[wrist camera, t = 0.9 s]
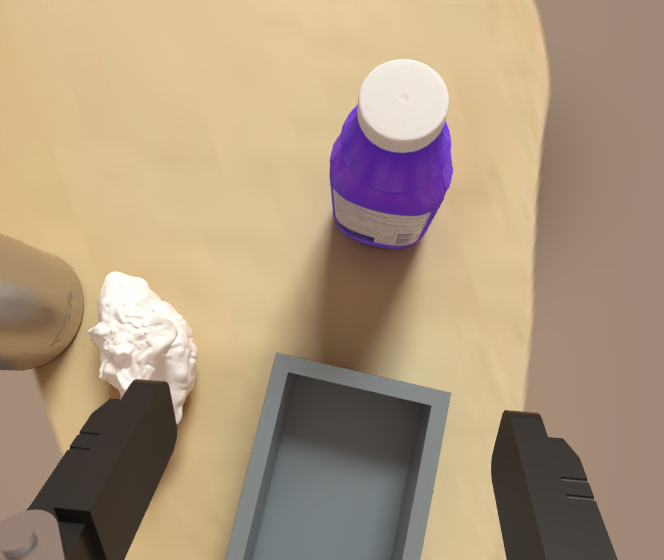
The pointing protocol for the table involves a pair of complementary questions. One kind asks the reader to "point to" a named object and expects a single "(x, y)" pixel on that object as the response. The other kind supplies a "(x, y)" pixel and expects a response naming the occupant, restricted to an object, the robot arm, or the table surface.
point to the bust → (143, 339)
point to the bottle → (392, 157)
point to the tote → (339, 466)
